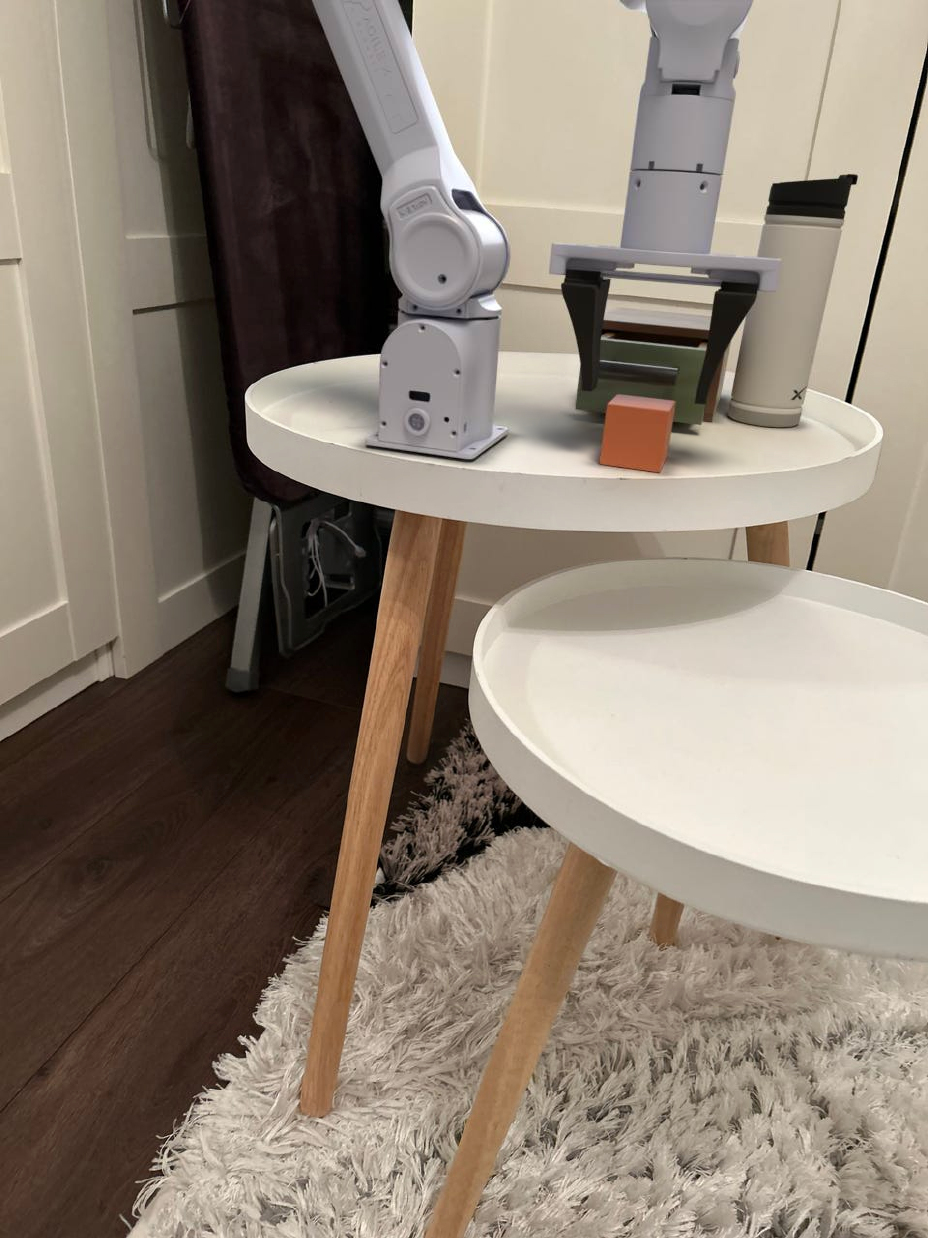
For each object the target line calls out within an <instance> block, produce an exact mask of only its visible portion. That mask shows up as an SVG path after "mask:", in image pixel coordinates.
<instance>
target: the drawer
mask: <svg viewBox="0 0 928 1238" xmlns="http://www.w3.org/2000/svg"><path fill="white" fill-rule="evenodd" d="M707 342H708V340H707V339H697V338H687V337H677V336H667V335H657V334H647V333H637V332H627V331H617V330H611V331H609V332H607V333H606V334H604V335H602V336H601V345H600V363H599V375H598V381H597V387H596V388H595V389H594V390H593V391H583V390H582V377H581V365H579V373H578V382H577V389H576V390H577V392H576V399H575V410H576V411H584V412H592V413H593V412H594V413H601V414H606V410H607V404H608V403H609V402H610V401H611V400H612V399H613V398H614V397H615V396H616V395H617V394H621V395H629V396H638V397H646V398H655V399H663V400H671V401H676V404H675V410H674V417H673V422H674V423H682V424H688V425H689V424H690V425H697V426H701V425H702V424H703V422H704V421H703V415H704V410H705V404H695V398H696V391H697V386H698V382H699V378H700V374H701V370H702V366H703V362H704V358H705V354H706V348H707Z"/></svg>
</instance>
